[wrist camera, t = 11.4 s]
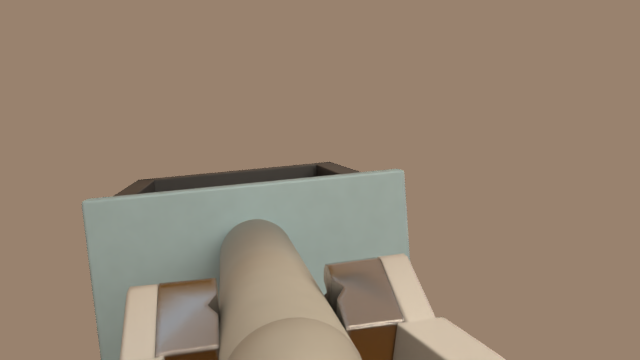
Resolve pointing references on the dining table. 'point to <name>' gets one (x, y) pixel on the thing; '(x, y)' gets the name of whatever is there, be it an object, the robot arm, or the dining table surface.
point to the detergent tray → (207, 213)
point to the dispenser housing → (234, 178)
